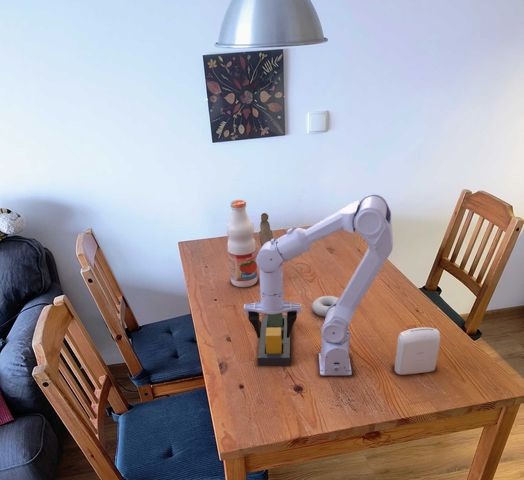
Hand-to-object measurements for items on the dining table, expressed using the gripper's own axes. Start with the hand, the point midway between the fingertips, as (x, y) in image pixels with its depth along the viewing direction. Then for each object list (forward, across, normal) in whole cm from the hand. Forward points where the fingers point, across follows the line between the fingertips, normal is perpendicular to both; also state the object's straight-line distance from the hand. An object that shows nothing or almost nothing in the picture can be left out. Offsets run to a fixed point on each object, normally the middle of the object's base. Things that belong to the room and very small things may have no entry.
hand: (273, 335), depth 127 cm
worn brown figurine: (+7, +4, -64) cm, 64 cm away
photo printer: (+7, -36, +6) cm, 37 cm away
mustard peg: (+7, 0, 0) cm, 7 cm away
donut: (+7, -16, -24) cm, 29 cm away
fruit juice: (+7, +12, -45) cm, 47 cm away
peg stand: (+7, 0, -7) cm, 9 cm away
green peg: (+7, 0, -13) cm, 15 cm away
